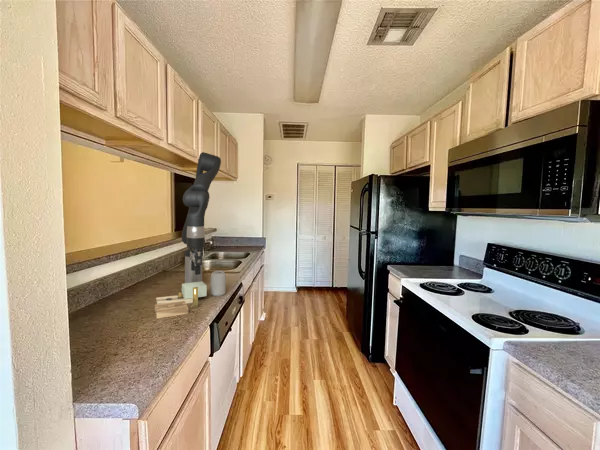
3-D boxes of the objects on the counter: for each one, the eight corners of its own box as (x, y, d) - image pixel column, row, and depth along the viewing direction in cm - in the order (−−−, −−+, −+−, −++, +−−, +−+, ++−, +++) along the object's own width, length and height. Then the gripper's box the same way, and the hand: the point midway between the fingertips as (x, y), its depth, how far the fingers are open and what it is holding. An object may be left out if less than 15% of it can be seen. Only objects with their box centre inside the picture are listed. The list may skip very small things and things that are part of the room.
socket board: (154, 310, 121) (154, 304, 121) (184, 306, 127) (184, 300, 127) (156, 318, 112) (156, 312, 112) (188, 313, 119) (188, 307, 118)
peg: (192, 307, 126) (192, 287, 126) (197, 306, 127) (197, 286, 127) (193, 308, 124) (193, 288, 124) (198, 307, 125) (198, 288, 125)
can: (227, 292, 148) (227, 270, 148) (222, 297, 141) (222, 273, 140) (214, 291, 149) (214, 269, 148) (208, 296, 142) (208, 272, 141)
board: (156, 300, 133) (156, 292, 132) (189, 296, 140) (189, 288, 140) (158, 307, 124) (157, 298, 124) (193, 302, 132) (193, 294, 132)
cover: (181, 294, 138) (181, 283, 137) (202, 291, 143) (202, 281, 142) (184, 299, 131) (184, 287, 130) (206, 296, 136) (206, 285, 136)
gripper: (208, 237, 120) (208, 275, 121) (201, 234, 132) (200, 268, 133) (189, 238, 116) (189, 276, 117) (184, 235, 128) (183, 269, 129)
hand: (195, 272), depth 125 cm, fingers open, 8 cm apart
